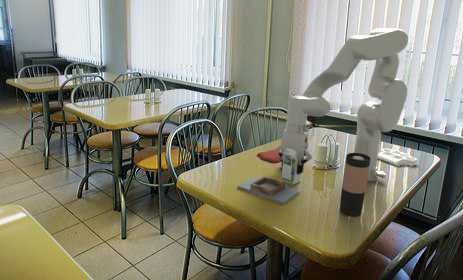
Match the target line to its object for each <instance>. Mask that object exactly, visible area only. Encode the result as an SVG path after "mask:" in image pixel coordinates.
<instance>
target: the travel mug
mask: <svg viewBox="0 0 463 280" xmlns="http://www.w3.org/2000/svg"><path fill="white" fill-rule="evenodd" d="M370 160H371V158H370V157H369V156H367V155H365V154H361V153H354V152H349V153H347V154H346V157H345V163H344V170H343V175H342V176H343V177H342V182H341V183H342V184H341V193H340V202H339V212H340V213H341V214H343V215H344V216H347V217H352V218H356V217H360V216H361V215H362V211H363V207H364V203H365V202H364V201H365V197H366V191H367V186H368V181H367V179H368V173H369V166H370Z"/></svg>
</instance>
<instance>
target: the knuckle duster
mask: <svg viewBox="0 0 463 280" xmlns="http://www.w3.org/2000/svg"><path fill="white" fill-rule="evenodd" d="M377 160H381V161H383V162H385V163H387V164H391V165H392V166H393V165H394V166H395V167H400V165H401V166H406V165H412V166H411V167H414V166H413V165H416V166H417V162H418V161H417V160H418V158H416V157H413V156H411V154H408V153H405V152H402V151H399V150H395V149H392V148H382V149H381V152H378V159H377Z"/></svg>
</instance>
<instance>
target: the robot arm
mask: <svg viewBox="0 0 463 280" xmlns="http://www.w3.org/2000/svg"><path fill="white" fill-rule="evenodd" d="M408 42H409V36H408V33H407V32H406V31H405V30H403V29H400V28H387V27H385V28H375V29H373V30H372V31H371V32H370V33H369V35H353V36H351V37H349V38H348V39H347V40H346V41H345V42H344V44H343V46H342V47H341V49H340V50H339V51H338V53H337V55H336V56H335V57H334V59H333V60H332V62H331V64H330V65H329V66H328V67H327V68H326V69H325V70H324V71H322V72H321V73H320V74H319V75H317V76H316V77H315V78H314V79H313V80H312V81H311V82H310V83H309V85H308V86H307V87H306V89H305V91H304V92H303V93H302V95H291V96H289V98H288V100H287V113H286V126H285V129H284V130H283V133H282V137H281V143H280V145H279V146H278V147H276V148H275V150H276V151H277V152H278V153H279V156H280V157H281V160H282V161H281V166H280V167H282V169H283V157H284V151H285V150H286V149H287V148H289V149H294V150H296V151H297V158H298V161H299V165H298V168H297V174H298V175H299V174H301V175H302V173H303V172H304V167H305V166H304V165H305V164H307V163H308V162H309V161H310V160H312V159H313V156H312V155H311V153H310V151H309V150H308V148H309V140H308V139H309V136H308V134H309V131H310V128H308V125H306V121H308V116H309V117H310V116H311V117H317V118H319V117H320V118H321V117H325V116H326V115H327V114H329V112H330V110H331V103H330V101H329V100H328V99H327V98H326V97H323V95H324V94H325V93H326V92H327V91H328V90H329V89H330V88H332V87H333V86H337V85H340V84H342V83H344V82H346V81H348V79H349V78H350V77H351V75H352V74H353V72H354V71H355V70H356V68H357V66H359V64H360V62H361V61H375V64H374V69H373V72H372V75H371V79H370V80H369V81H370V82H369V84H368V91H367V92H368V95H369V96H370V97H371V98H372V99H373V100H374V99H375V100H377V101H381V102H380V103H378V102H375V101H367V102H364V103H362V104H361V105H360V106H359V107H358V109H357V113H356V122H357V123H356V136H355V143H354V151H353V153H361V154H365V155H367V156H369V157H370V158H371V160H370V166H369V173H368V179H367V182H375V181H377V180H378V179H379V178H382V179H385V178H386V176H387V175H386V173H385V172H384V171H382V170H381V171H380V170H379V169H378V168H379V166H377V163H378V160H379V159H378V153H380V152H379V151H380V144H381V140H382V132H383V133H387V132H388V133H389V132H391V131H393V130H394V129H395V128H396V126H397V125H398V123H399V120H400V118H401V115H402V113H403V109H404V107H405V103H406V100H407V96H408V86H407V85H406V83H405V82H404V81H403V80H402V79H399V78H396V77H397V74H398V71H399V70H398V69H399V66H400V57H399V53H401V52H402V51H403V50H405V49H406V47H407V46H408V44H409V43H408ZM305 131H308V132H305ZM305 157H306V158H305Z"/></svg>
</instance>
